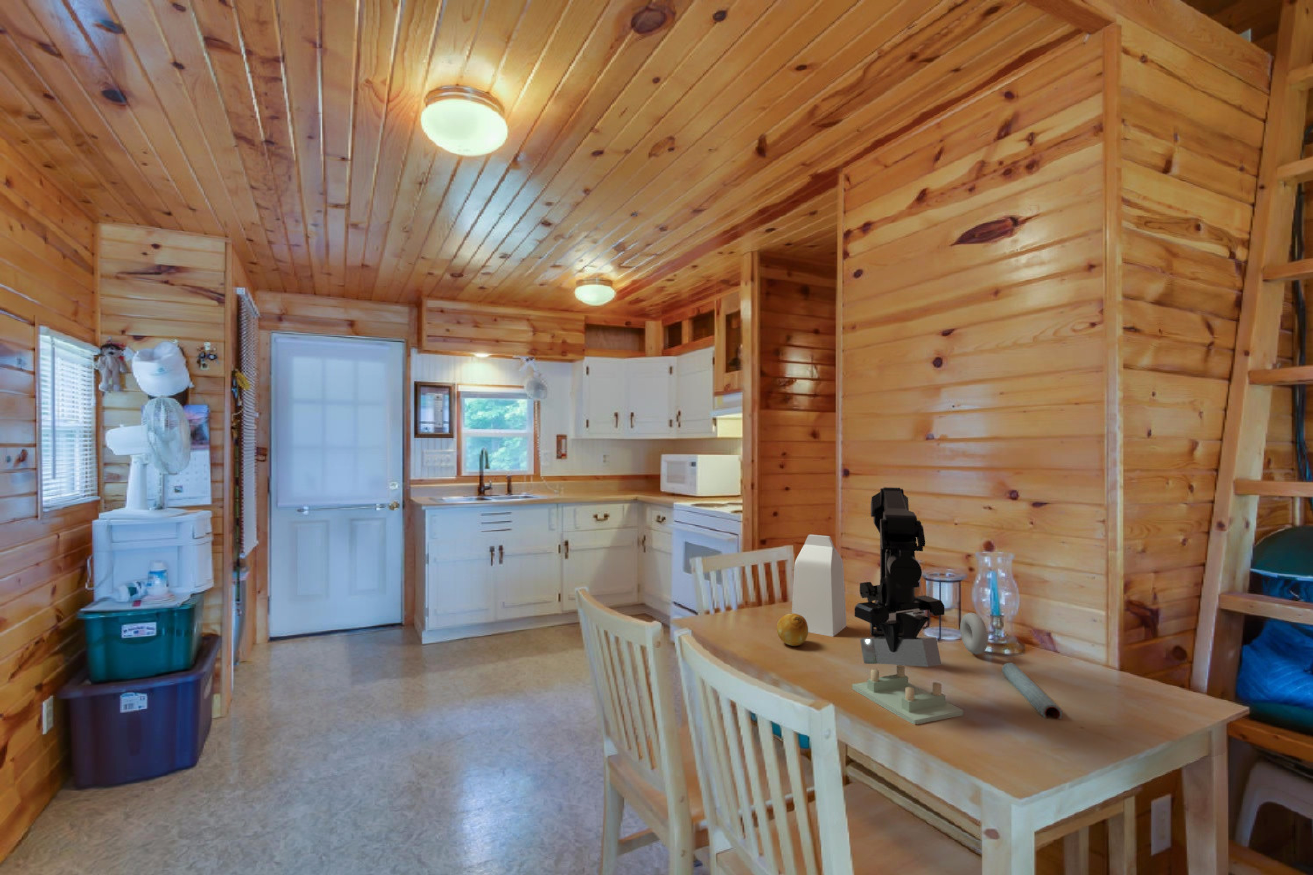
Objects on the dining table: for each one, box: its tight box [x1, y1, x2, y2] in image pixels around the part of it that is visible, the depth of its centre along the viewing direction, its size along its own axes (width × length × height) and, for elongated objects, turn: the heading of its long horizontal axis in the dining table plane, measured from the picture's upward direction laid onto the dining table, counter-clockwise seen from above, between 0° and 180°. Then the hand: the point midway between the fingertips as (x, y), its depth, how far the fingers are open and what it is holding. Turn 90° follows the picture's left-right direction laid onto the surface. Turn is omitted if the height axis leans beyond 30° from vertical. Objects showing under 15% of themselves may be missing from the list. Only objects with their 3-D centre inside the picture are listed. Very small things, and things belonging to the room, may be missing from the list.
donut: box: [959, 612, 989, 655], centre depth 155 cm, size 10×4×10 cm, turn 178°
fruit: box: [776, 612, 809, 647], centre depth 162 cm, size 8×8×8 cm
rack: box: [851, 665, 964, 725], centre depth 127 cm, size 12×18×5 cm, turn 21°
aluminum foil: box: [1001, 662, 1063, 720], centre depth 129 cm, size 23×7×3 cm, turn 169°
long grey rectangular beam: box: [859, 636, 942, 668], centre depth 129 cm, size 5×20×5 cm, turn 21°
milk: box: [791, 534, 848, 638], centre depth 176 cm, size 12×12×26 cm
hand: (899, 650), depth 128 cm, fingers closed on long grey rectangular beam, 3 cm apart
